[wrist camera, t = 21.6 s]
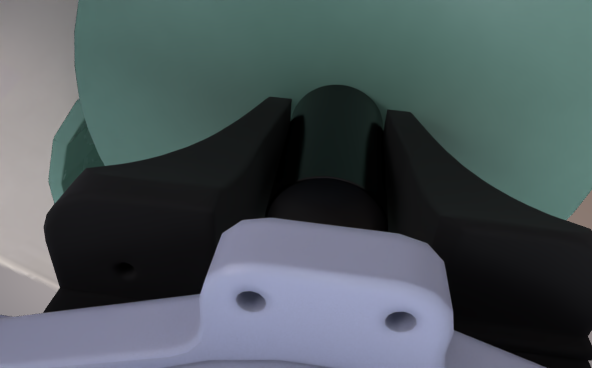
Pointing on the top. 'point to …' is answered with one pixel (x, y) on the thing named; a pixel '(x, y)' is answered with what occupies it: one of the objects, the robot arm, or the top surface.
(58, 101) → the top surface
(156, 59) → the tin lid
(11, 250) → the top surface
